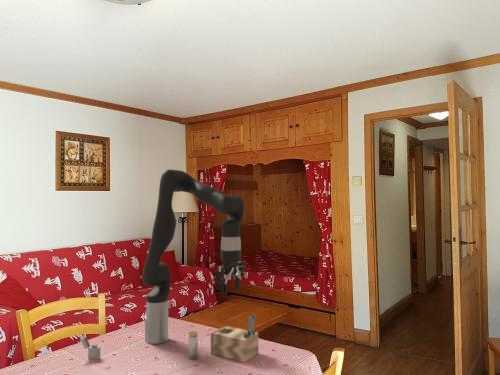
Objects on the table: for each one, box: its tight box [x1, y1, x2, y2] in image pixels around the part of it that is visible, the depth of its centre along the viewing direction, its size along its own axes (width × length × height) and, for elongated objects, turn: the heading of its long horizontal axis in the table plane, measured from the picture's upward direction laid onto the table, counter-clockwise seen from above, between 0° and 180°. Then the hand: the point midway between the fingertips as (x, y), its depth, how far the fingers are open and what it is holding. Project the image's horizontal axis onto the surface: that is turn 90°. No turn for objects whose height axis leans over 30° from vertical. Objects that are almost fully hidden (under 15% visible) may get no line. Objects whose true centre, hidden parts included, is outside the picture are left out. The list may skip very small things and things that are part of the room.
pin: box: [188, 331, 199, 361], centre depth 146 cm, size 3×3×10 cm
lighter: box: [80, 336, 101, 360], centre depth 147 cm, size 7×2×8 cm, turn 85°
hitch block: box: [210, 325, 260, 363], centre depth 150 cm, size 16×10×10 cm, turn 57°
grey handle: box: [247, 313, 257, 336], centre depth 146 cm, size 8×4×1 cm
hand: (230, 291), depth 143 cm, fingers open, 8 cm apart
